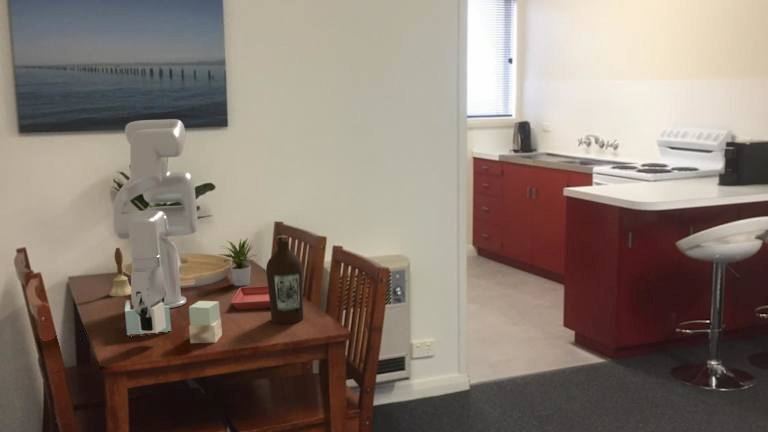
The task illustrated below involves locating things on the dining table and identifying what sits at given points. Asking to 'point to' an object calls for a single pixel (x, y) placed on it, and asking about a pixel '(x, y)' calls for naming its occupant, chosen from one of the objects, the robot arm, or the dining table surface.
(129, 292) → the hand bell
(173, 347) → the dining table surface
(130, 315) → the l-shaped corner panel
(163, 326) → the cream block
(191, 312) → the sage block
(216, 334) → the oak base block
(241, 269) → the house plant
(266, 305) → the plant saucer
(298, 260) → the olive oil
